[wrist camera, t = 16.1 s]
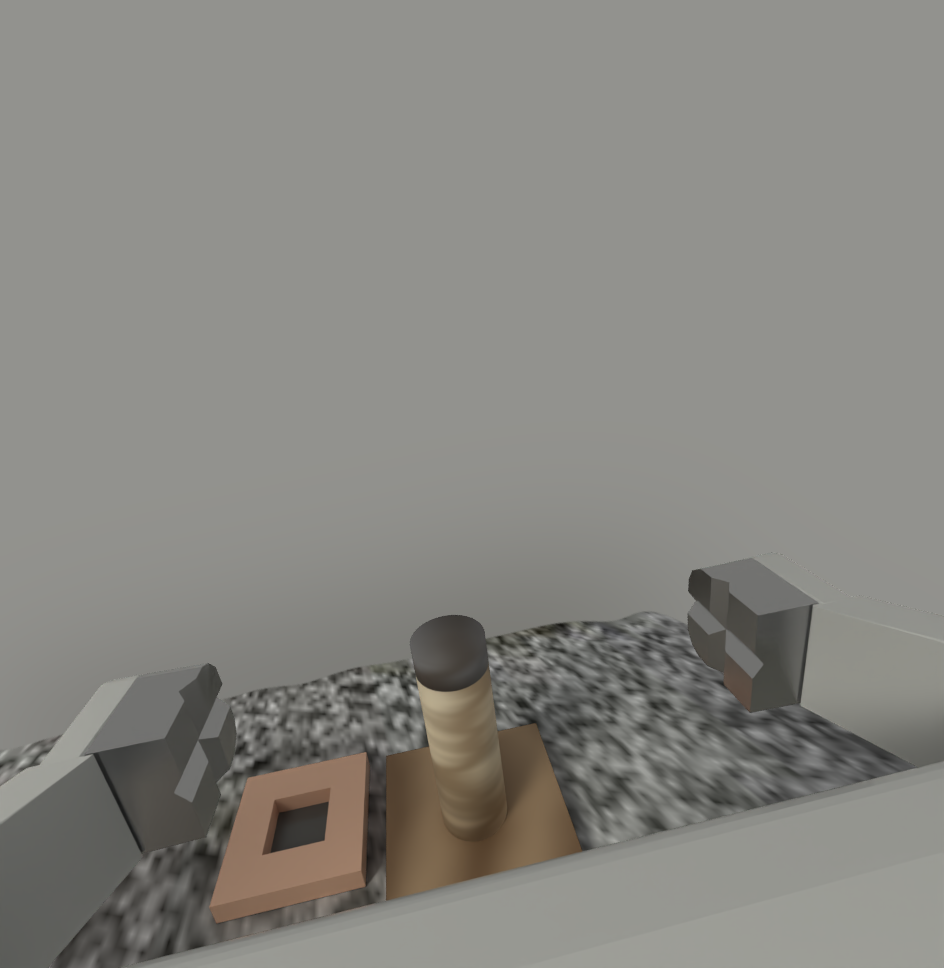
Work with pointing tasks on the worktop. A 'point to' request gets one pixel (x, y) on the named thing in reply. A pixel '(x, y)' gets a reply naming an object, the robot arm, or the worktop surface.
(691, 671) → the worktop surface
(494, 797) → the beech tool handle
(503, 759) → the walnut board
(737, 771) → the worktop surface
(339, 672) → the worktop surface
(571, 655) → the worktop surface
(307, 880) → the frame
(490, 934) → the robot arm
